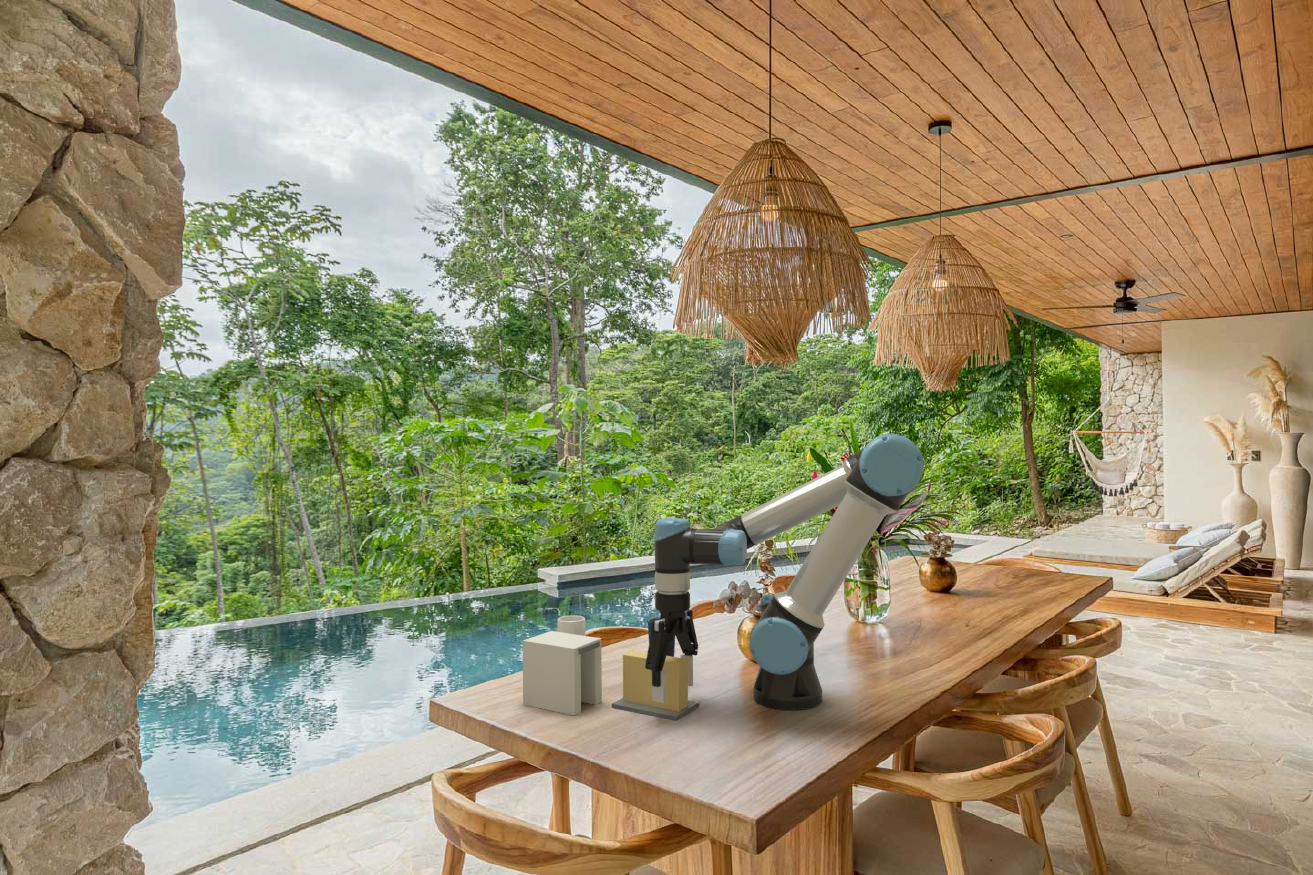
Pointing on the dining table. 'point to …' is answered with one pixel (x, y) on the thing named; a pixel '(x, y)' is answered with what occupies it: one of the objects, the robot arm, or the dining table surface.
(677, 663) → the yellow rectangular block
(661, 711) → the slate pad
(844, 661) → the dining table surface
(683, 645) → the robot arm
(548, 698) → the box
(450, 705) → the dining table surface
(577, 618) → the drinking glass
